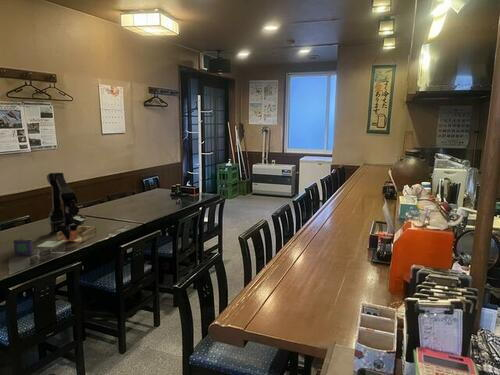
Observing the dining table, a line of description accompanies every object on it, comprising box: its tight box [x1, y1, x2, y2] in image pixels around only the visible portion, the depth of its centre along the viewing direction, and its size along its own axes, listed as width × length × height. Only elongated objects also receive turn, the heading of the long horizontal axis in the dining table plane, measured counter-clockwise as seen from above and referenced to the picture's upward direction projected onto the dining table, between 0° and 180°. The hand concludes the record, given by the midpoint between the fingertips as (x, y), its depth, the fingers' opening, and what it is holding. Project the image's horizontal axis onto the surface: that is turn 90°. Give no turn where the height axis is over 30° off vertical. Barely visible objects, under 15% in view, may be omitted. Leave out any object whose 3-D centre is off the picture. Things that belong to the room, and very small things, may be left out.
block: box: [64, 230, 77, 242], centre depth 211 cm, size 5×5×5 cm
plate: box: [36, 240, 65, 248], centre depth 206 cm, size 10×10×1 cm
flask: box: [13, 235, 34, 257], centre depth 190 cm, size 9×3×11 cm, turn 95°
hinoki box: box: [56, 225, 97, 243], centre depth 218 cm, size 16×15×6 cm
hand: (70, 238), depth 211 cm, fingers closed on block, 5 cm apart
